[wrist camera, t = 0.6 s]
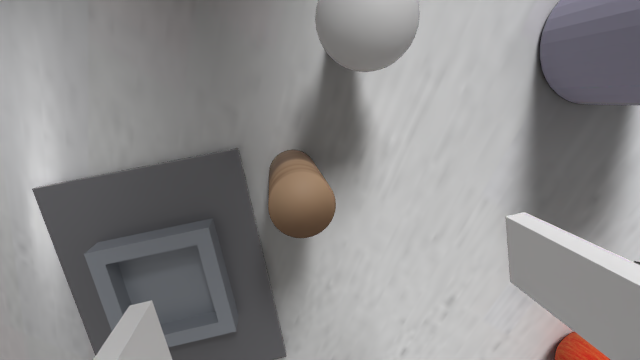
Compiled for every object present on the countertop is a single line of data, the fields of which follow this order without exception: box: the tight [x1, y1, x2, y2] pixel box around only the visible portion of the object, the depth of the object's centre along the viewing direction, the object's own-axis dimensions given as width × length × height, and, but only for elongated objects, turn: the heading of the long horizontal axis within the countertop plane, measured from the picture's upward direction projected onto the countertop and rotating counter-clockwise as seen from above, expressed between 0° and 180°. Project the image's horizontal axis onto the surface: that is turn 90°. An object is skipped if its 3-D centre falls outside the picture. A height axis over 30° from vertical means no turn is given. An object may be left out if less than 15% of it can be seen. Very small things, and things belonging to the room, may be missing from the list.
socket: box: [32, 148, 286, 360], centre depth 31 cm, size 20×16×3 cm
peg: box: [268, 150, 336, 238], centre depth 27 cm, size 4×4×10 cm
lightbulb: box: [315, 0, 420, 72], centre depth 24 cm, size 6×6×11 cm
